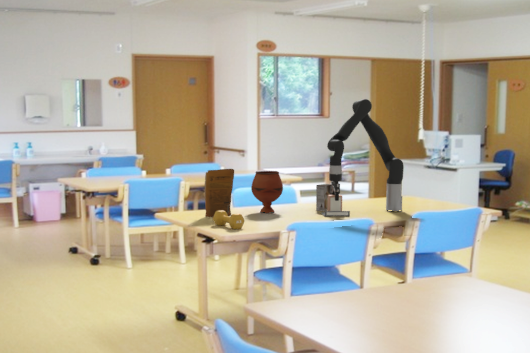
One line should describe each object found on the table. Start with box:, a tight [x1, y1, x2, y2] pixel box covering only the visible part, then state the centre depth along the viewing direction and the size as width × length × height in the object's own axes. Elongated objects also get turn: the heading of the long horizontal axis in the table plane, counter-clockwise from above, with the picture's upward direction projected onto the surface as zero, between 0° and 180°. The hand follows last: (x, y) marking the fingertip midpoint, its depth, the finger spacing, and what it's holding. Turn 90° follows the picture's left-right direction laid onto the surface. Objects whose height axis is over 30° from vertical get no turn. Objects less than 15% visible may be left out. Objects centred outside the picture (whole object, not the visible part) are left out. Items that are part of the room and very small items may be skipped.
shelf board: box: [321, 210, 351, 217], centre depth 444 cm, size 15×12×3 cm
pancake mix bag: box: [204, 168, 235, 218], centre depth 433 cm, size 7×19×28 cm, turn 115°
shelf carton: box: [327, 194, 343, 211], centre depth 446 cm, size 5×8×11 cm, turn 96°
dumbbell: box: [212, 210, 245, 230], centre depth 397 cm, size 19×9×8 cm, turn 38°
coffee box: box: [315, 183, 333, 212], centre depth 464 cm, size 9×6×16 cm
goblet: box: [251, 170, 284, 214], centre depth 451 cm, size 19×19×25 cm
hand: (335, 199), depth 445 cm, fingers open, 8 cm apart
